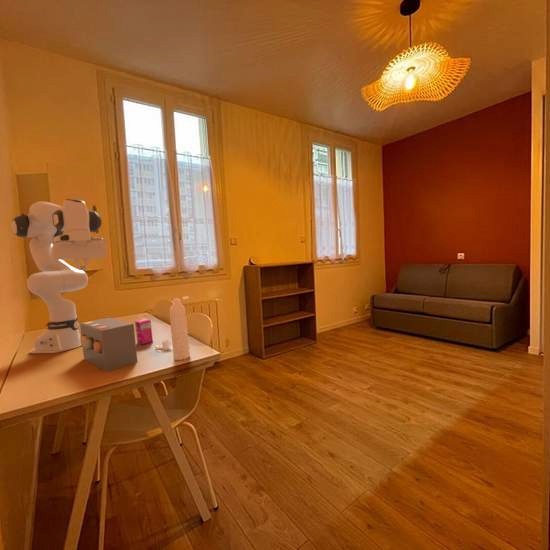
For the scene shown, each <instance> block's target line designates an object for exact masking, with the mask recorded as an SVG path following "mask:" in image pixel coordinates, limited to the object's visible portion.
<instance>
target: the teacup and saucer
mask: <svg viewBox="0 0 550 550" xmlns="http://www.w3.org/2000/svg"><path fill="white" fill-rule="evenodd" d="M161 343H162V344H158V345H157V344H156V346H155V349H156V351H157V352H158V353H159V352H160V353H162V352H163V353H164V352H166V351H167V350H168V351H167V352H170V351H173V346H172V345H171V344H172V343H171V342H170V340H168V339H167V340H162V341H161ZM170 348H171V349H170Z"/></svg>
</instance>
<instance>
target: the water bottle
mask: <svg viewBox="0 0 550 550" xmlns="http://www.w3.org/2000/svg"><path fill="white" fill-rule="evenodd" d="M182 299H183V300H184V301H185V300H189V299H190V296H183V297H182ZM169 320H170V334H171V342H172V343H171V344H172V345H171V346H173V350H172V354H173V357H172V358H173V360H174V361H184V360H186V358H187V359H189V358H190V357H189V356H191V355H190V353H191V352H190V347H189V346H190V344H189V334H188V331H189V330H188V322H187V309H186V307H185V306H184V304H182V302H181V300H180V298H179V297H178V298H176V297H175V298H173V304H172V305H171V306H170V309H169ZM188 357H189V358H188ZM183 359H184V360H183Z"/></svg>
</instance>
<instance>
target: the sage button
mask: <svg viewBox="0 0 550 550" xmlns="http://www.w3.org/2000/svg"><path fill="white" fill-rule="evenodd" d="M92 348H93V340H92V339H87V340H83V341H82V350H83V349H84V350H88V349H92Z"/></svg>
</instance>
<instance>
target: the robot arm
mask: <svg viewBox="0 0 550 550" xmlns="http://www.w3.org/2000/svg"><path fill="white" fill-rule="evenodd" d="M87 207H88V206H87V205H86V202H85V201H83V200H82V199H74V198H73V199H71V198H66V199H64V200H63V205H61V206H60V205H59V204H55V203H53V202H48V201H37V202H34V203H33V204H31V205H30V207H29V211H28V212H29V213H28V214H25V213H21V215H18V216H15V217H14V218H13V219H12V221H11V229H12V231H13V233H14V235H15V236H16V237H20V238H31V240H30V241H29V245H28V247H29V250H30V253H31V256H32V259H33V261H34V263H35V265H36V267H37V269H38V270H39V271H40V272H35V273H32V274H30V275H29V277H28V278H27V280H26V287H27V290H29V292H30V293H32V294H34V295H36V296H38V297H39V298H41V300H43V301H44V303H45V304H46V306H47V309H48V315H49V322H47V323H45V324H44V326H45V327H47V329H46V330H45V331H44V332H43V333H41V334H40V335H39V336H38V337H36V339H35V341H34V347H33V348H32V349H30V350H29V354H57V353H60V352H65V351H70V350H73V349H77V348H78V347H79V348H80V347H81V346H82V345H81V341H80V338H81V332H80V330H79V328H80V323H79V319H78V317H77V308H76V304H75V302H74V301H72V300H70V299H68V298H65V297H63V296H62V293H66V292H68V293H69V292H75V291H79V290H81V289H84V288H86V287H87V286H88V283H89V276H88V274H87V273H86V271H84V270H87V269H88V268H87V265H88V263H89V261H90V259H101V258H106V257H107V256H108V251H107V247H106V245H107V243H106V240H105V239H104V238H102V237H101V236H98V237H97V236H96V237H95V236H93V237H92V236H91V233H96V232H97V231H98V230H100V228H101V227H102V218H101V215H100V214H99V213H98V212H96V211H95V210H92V209H91V210H89V209H88V208H87ZM64 232H65V233H64ZM65 260H66V261H67V260H68V261H69V260H73V263H74V264H75V266H77V268H76V267H74V266H72V265H70V264H69V263H67V262H66V261H65ZM80 260H83V262H84V263H83V265H81V264H80V263H79V262H80ZM82 347H83V346H82Z"/></svg>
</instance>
